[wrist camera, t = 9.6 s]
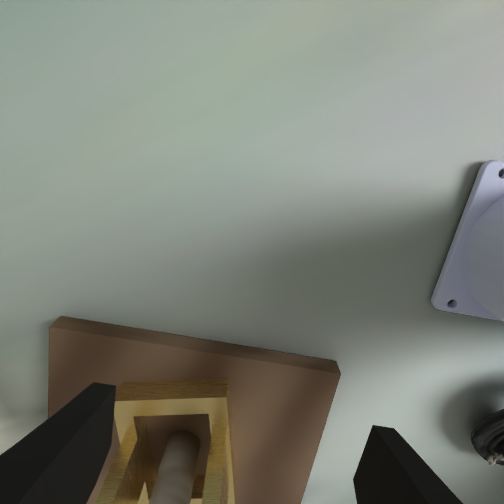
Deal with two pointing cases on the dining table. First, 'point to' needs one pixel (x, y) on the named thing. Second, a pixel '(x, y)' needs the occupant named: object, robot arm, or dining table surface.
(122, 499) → the collar
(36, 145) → the dining table surface
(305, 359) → the post board
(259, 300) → the dining table surface
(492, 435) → the milk frother
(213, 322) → the dining table surface
